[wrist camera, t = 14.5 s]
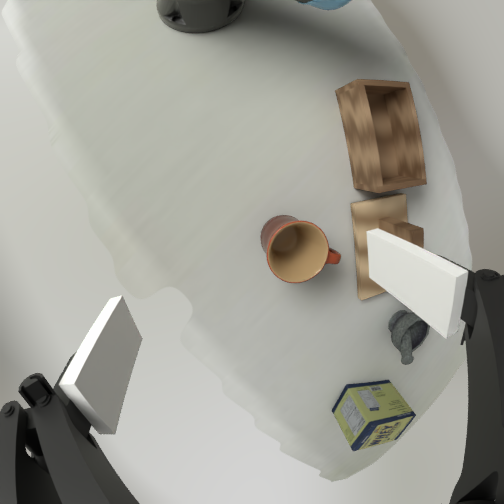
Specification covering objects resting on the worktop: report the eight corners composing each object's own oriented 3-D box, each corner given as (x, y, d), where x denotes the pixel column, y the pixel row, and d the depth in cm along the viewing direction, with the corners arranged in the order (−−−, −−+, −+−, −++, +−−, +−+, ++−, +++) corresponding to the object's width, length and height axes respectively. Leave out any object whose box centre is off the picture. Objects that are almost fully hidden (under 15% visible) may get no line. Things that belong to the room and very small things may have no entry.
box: (335, 90, 40) (357, 79, 32) (383, 90, 41) (409, 82, 33) (354, 188, 46) (378, 193, 38) (399, 180, 46) (426, 184, 39)
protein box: (374, 404, 66) (397, 439, 51) (330, 410, 63) (351, 452, 48) (389, 378, 63) (417, 414, 49) (345, 384, 60) (371, 427, 46)
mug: (249, 254, 46) (259, 277, 37) (262, 203, 44) (277, 213, 34) (313, 267, 49) (336, 290, 39) (327, 220, 47) (355, 234, 37)
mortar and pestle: (410, 296, 55) (443, 320, 44) (415, 323, 58) (444, 347, 47) (373, 322, 55) (402, 352, 44) (381, 348, 58) (406, 377, 47)
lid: (348, 202, 46) (387, 215, 35) (398, 192, 47) (441, 202, 36) (356, 295, 52) (388, 325, 41) (401, 279, 53) (436, 303, 42)
